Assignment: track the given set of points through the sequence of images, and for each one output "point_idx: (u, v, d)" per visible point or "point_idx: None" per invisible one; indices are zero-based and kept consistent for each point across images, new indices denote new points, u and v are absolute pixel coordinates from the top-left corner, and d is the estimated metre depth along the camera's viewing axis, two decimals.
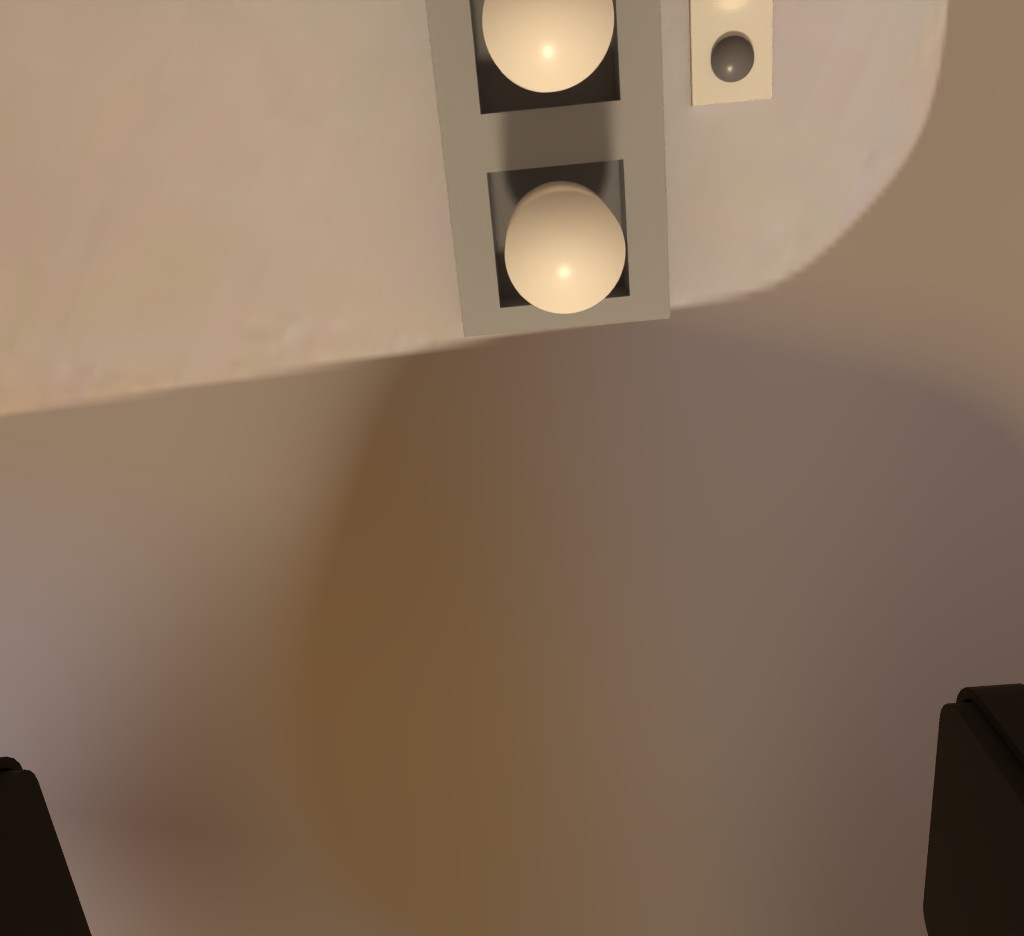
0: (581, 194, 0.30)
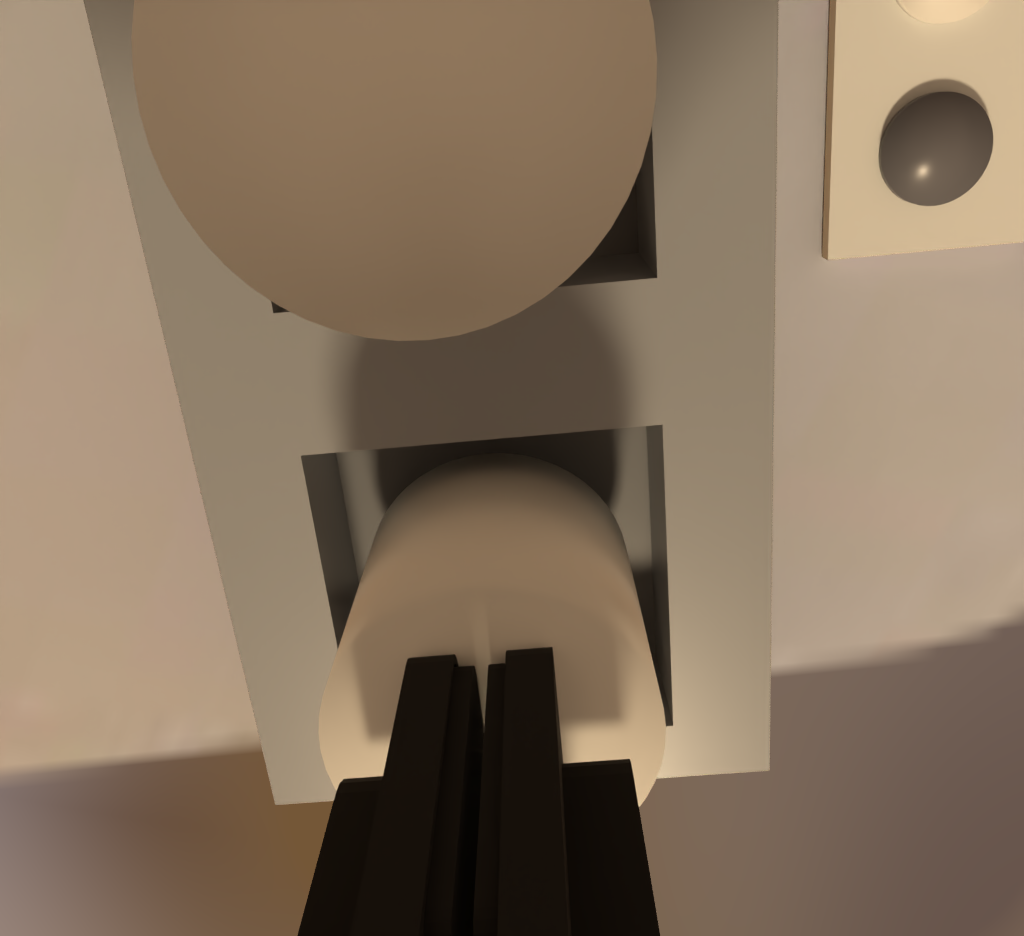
0: (536, 595, 0.10)
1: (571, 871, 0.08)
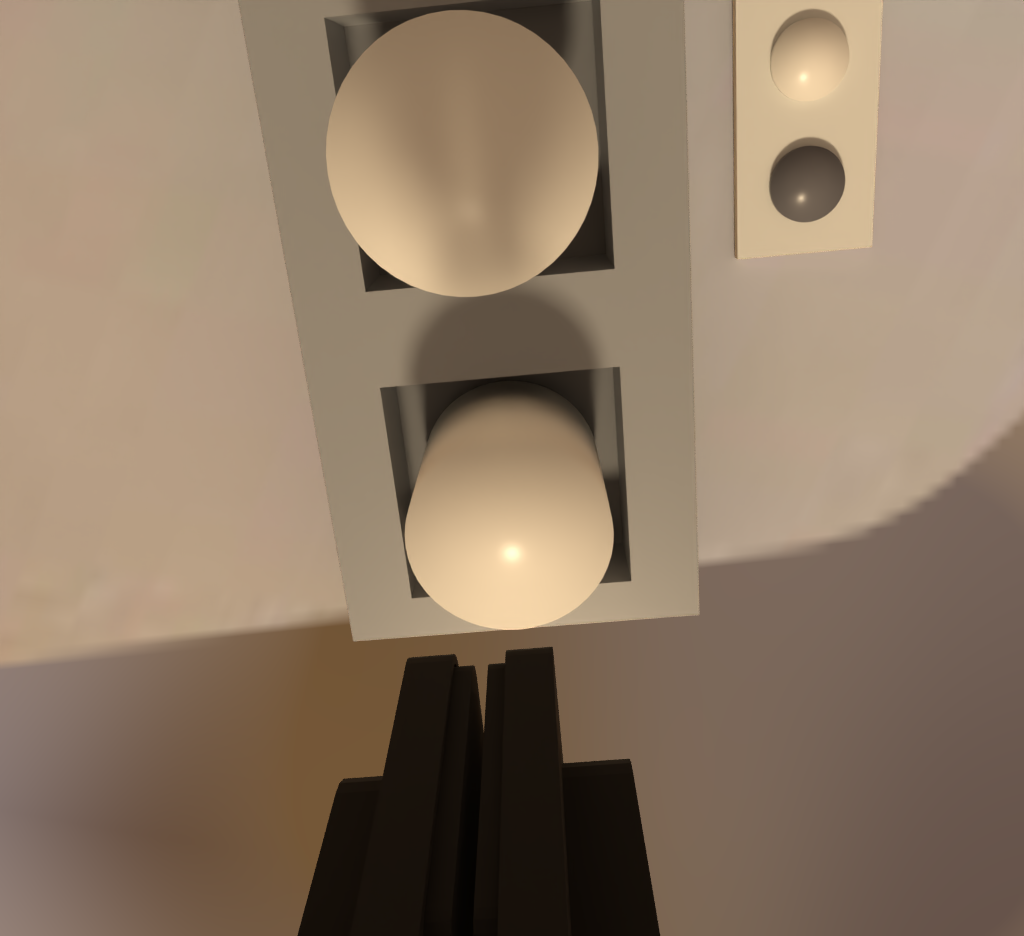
0: (535, 445, 0.17)
1: (571, 871, 0.08)
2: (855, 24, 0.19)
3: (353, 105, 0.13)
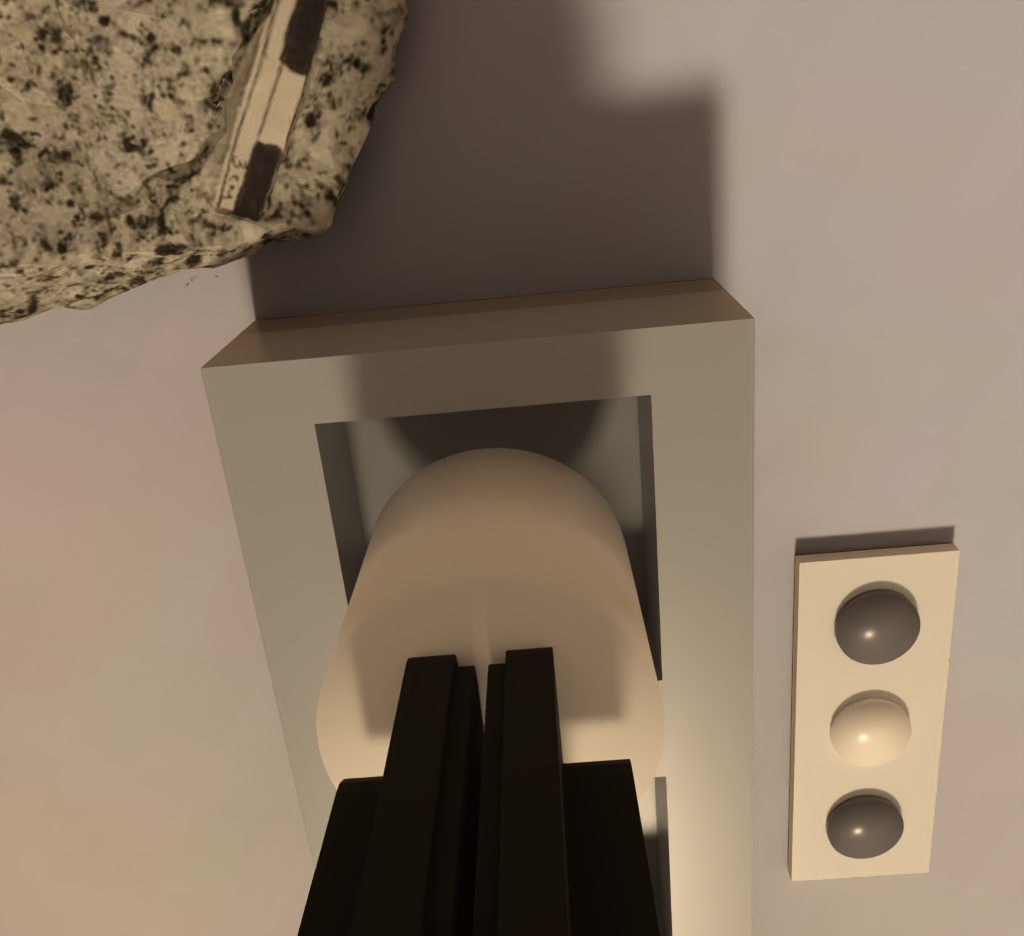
0: None
1: (571, 871, 0.08)
2: (918, 702, 0.19)
3: None
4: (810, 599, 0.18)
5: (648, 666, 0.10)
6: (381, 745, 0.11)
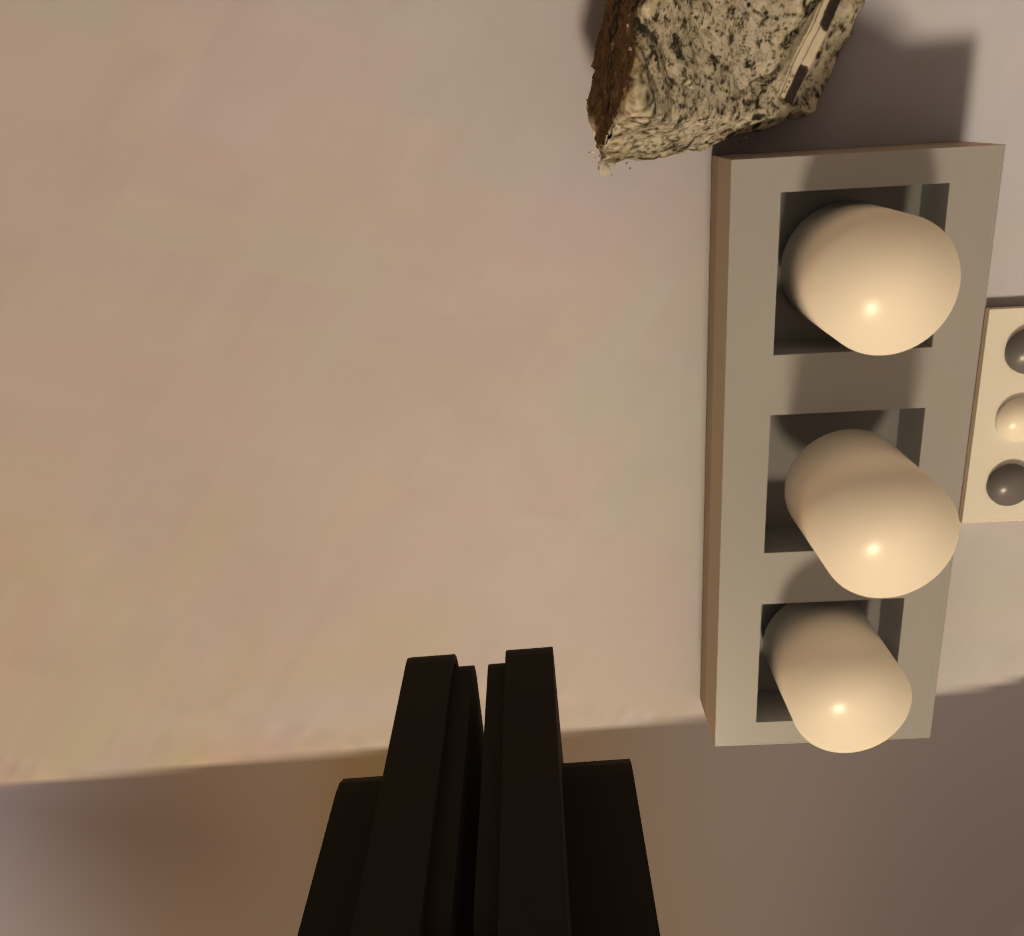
0: (876, 655, 0.31)
1: (571, 871, 0.08)
2: None
3: (841, 511, 0.27)
4: (993, 332, 0.32)
5: (957, 255, 0.26)
6: (842, 291, 0.26)
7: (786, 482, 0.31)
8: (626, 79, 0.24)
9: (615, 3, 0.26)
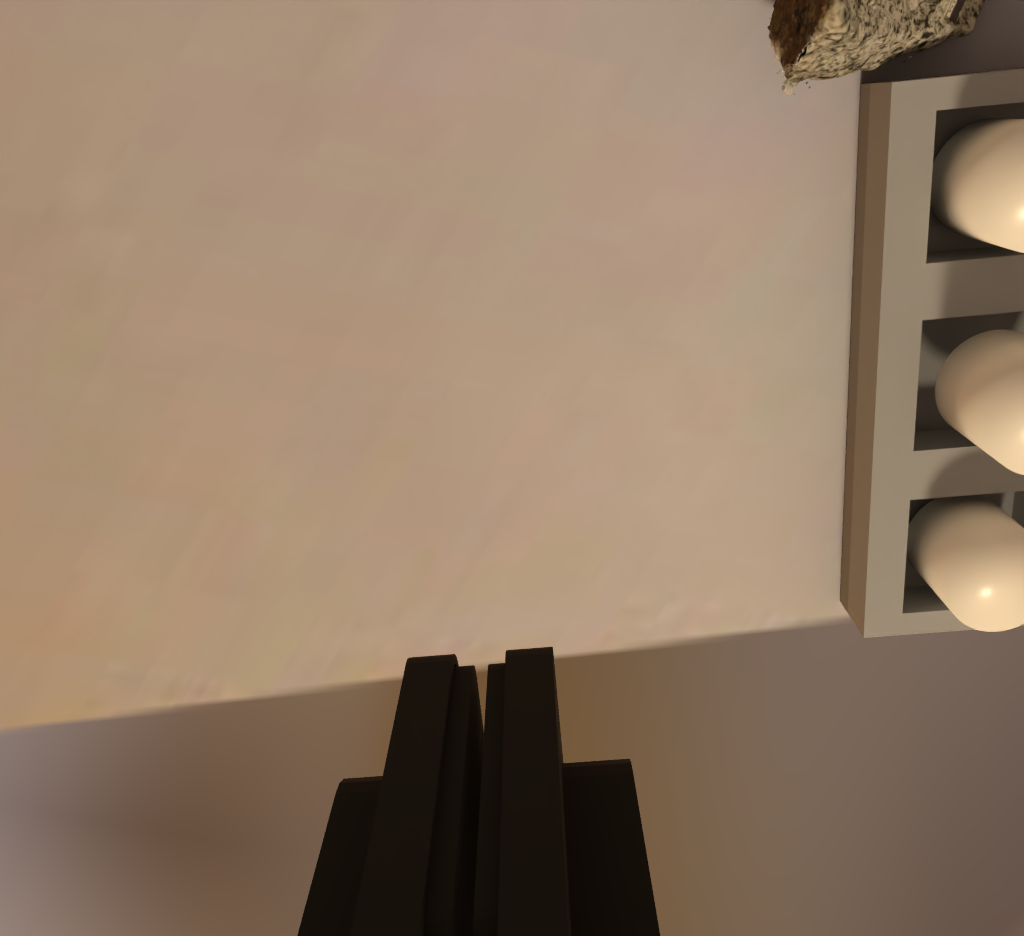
0: None
1: (571, 871, 0.08)
2: None
3: (1005, 396, 0.30)
4: None
5: None
6: (1002, 194, 0.29)
7: (937, 381, 0.34)
8: None
9: None
